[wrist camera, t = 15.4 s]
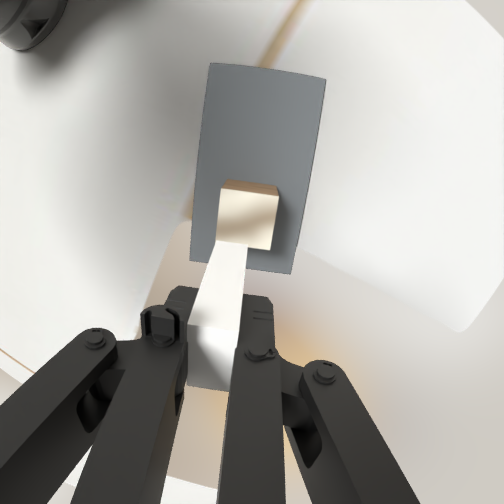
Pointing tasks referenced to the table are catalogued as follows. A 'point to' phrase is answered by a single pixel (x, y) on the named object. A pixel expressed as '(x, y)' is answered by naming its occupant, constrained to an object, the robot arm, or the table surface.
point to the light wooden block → (247, 213)
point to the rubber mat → (256, 152)
